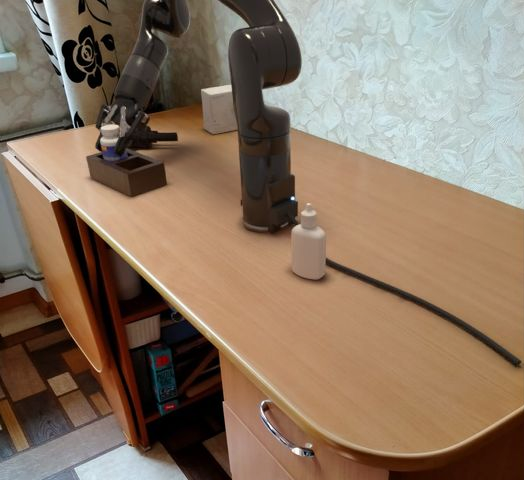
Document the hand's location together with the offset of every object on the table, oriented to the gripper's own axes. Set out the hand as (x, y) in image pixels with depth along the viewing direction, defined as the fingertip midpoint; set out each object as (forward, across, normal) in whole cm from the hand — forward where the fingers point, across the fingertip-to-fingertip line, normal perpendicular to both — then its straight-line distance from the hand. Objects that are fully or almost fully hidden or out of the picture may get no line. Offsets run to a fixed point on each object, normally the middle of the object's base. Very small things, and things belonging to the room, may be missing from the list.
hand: (108, 152), depth 128 cm
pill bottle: (+2, 0, +5) cm, 5 cm away
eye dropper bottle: (+13, +61, -4) cm, 62 cm away
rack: (+4, +4, +5) cm, 7 cm away
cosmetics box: (-25, -2, +35) cm, 43 cm away
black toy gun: (-11, -9, +20) cm, 24 cm away
